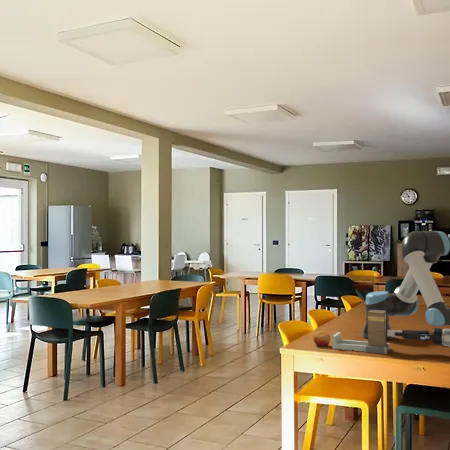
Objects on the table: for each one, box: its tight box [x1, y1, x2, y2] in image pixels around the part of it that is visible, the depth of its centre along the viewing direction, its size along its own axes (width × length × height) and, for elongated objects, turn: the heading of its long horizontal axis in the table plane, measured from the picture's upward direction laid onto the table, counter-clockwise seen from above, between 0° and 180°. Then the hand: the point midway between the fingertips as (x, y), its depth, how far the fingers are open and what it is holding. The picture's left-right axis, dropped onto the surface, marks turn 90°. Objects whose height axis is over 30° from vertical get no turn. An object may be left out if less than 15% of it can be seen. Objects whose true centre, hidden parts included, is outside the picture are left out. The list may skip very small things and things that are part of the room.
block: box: [367, 310, 387, 347], centre depth 255 cm, size 7×7×18 cm
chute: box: [332, 331, 391, 355], centre depth 258 cm, size 13×24×6 cm, turn 65°
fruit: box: [313, 330, 331, 347], centre depth 265 cm, size 8×8×8 cm
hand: (387, 332), depth 253 cm, fingers closed
